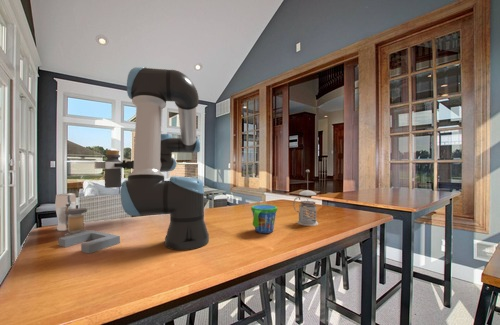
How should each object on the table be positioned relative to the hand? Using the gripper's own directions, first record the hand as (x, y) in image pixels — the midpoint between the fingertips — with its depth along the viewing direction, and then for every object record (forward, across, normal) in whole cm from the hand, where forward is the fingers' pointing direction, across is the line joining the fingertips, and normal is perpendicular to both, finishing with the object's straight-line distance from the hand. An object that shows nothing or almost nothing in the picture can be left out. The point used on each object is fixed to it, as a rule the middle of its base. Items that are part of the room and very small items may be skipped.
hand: (100, 165), depth 91 cm
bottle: (-5, 0, -9) cm, 11 cm away
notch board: (+8, -6, -28) cm, 29 cm away
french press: (-52, -69, -28) cm, 91 cm away
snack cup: (-32, -56, -28) cm, 70 cm away
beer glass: (+1, +22, -28) cm, 35 cm away
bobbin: (+4, +9, -28) cm, 29 cm away
